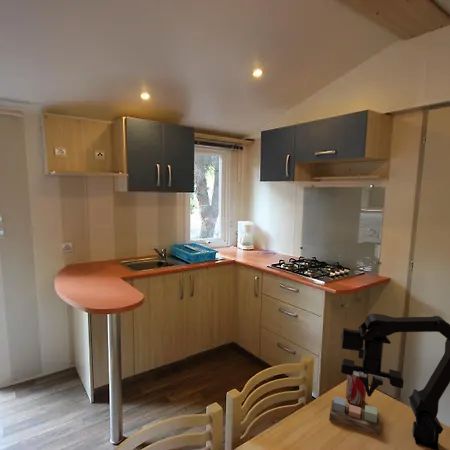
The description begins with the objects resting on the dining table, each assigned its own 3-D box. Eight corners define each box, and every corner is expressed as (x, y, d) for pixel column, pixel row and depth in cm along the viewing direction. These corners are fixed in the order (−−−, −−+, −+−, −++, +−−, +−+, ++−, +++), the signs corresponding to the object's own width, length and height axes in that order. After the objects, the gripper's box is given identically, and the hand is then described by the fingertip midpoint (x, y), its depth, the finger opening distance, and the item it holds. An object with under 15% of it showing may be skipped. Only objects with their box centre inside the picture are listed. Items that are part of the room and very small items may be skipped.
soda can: (362, 409, 119) (365, 379, 117) (343, 401, 123) (345, 372, 122) (367, 399, 124) (369, 371, 123) (348, 392, 129) (350, 364, 127)
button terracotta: (360, 415, 114) (360, 407, 114) (359, 422, 111) (360, 414, 110) (348, 411, 116) (349, 404, 115) (348, 418, 112) (348, 410, 112)
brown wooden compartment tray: (378, 419, 114) (379, 413, 113) (379, 435, 106) (379, 428, 106) (331, 405, 120) (332, 399, 120) (329, 419, 113) (329, 413, 113)
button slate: (345, 406, 116) (345, 399, 116) (344, 413, 113) (345, 405, 112) (334, 403, 118) (334, 396, 117) (333, 410, 114) (333, 402, 114)
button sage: (376, 416, 112) (377, 408, 112) (376, 423, 108) (377, 415, 108) (364, 412, 113) (365, 404, 113) (364, 419, 110) (365, 411, 110)
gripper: (402, 348, 110) (397, 390, 112) (345, 336, 117) (341, 376, 119) (405, 364, 100) (400, 410, 101) (342, 350, 107) (339, 392, 109)
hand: (368, 395), depth 108 cm, fingers closed
